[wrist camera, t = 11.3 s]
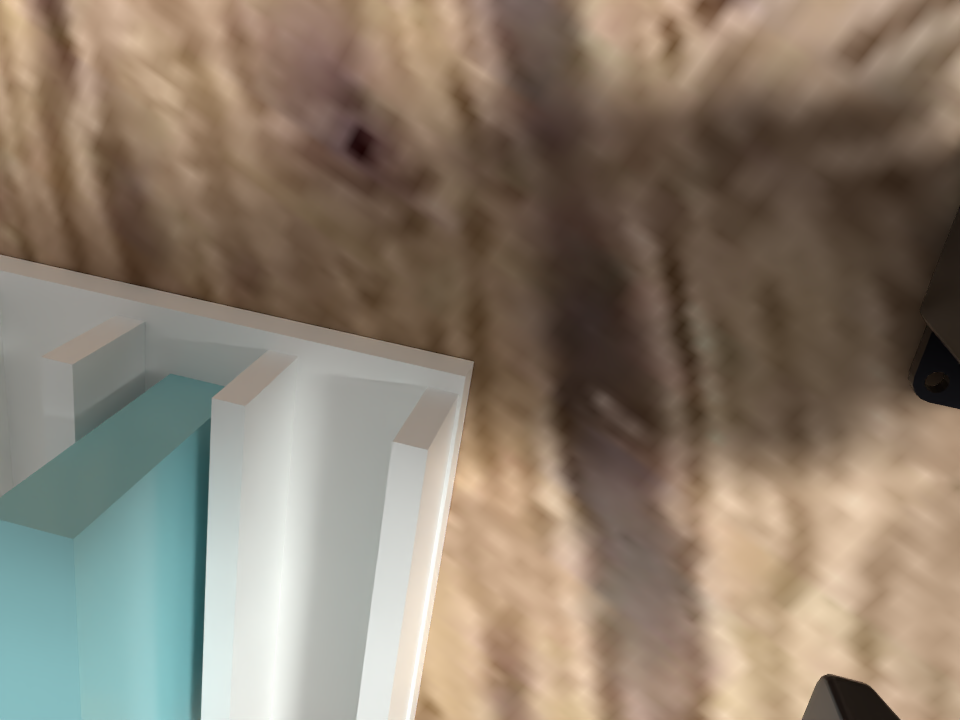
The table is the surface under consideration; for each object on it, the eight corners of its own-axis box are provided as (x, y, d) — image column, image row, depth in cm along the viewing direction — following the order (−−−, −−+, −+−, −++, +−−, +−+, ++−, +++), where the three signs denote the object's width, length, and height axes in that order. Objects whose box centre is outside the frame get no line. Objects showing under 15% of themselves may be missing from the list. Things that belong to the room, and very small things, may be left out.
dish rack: (474, 361, 22) (435, 431, 18) (408, 758, 28) (368, 871, 24) (-7, 253, 24) (-129, 297, 20) (22, 647, 29) (-70, 738, 26)
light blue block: (241, 390, 23) (73, 539, 16) (228, 681, 27) (89, 892, 20) (170, 373, 23) (-23, 513, 16) (168, 664, 27) (12, 867, 20)
